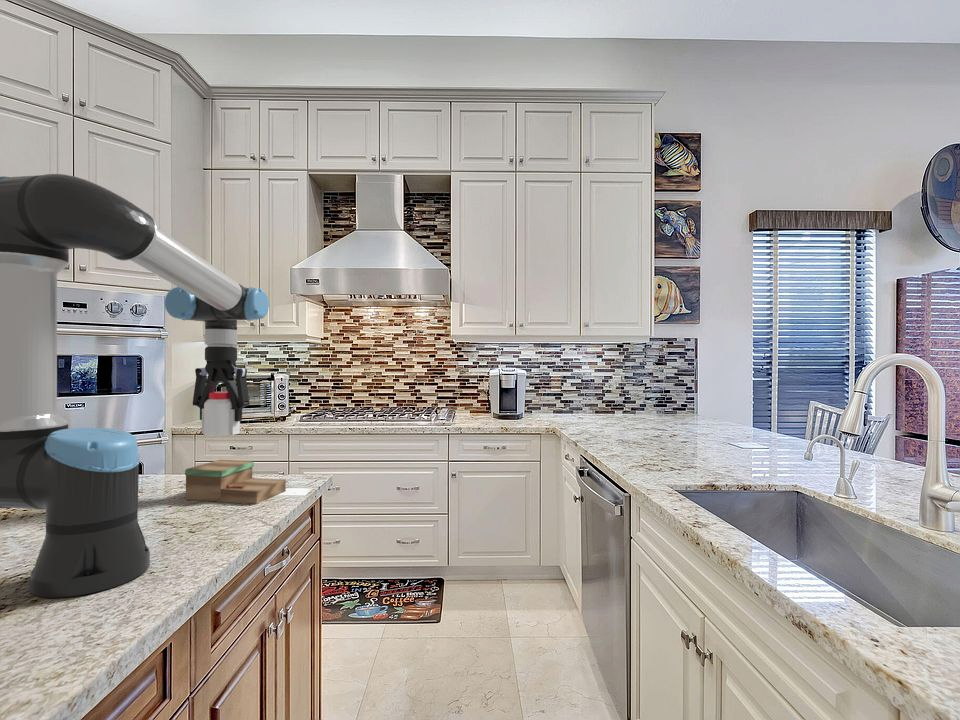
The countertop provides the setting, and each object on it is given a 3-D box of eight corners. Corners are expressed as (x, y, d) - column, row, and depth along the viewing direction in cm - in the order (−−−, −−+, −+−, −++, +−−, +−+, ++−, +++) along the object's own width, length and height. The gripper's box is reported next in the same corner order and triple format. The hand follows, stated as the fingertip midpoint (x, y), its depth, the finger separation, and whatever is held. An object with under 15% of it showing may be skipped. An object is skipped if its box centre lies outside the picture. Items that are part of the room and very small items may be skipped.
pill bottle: (243, 432, 132) (243, 391, 132) (225, 436, 124) (225, 393, 124) (216, 431, 132) (216, 391, 132) (197, 436, 125) (197, 393, 125)
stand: (255, 504, 119) (256, 473, 119) (184, 499, 123) (185, 469, 123) (285, 491, 131) (285, 462, 131) (220, 486, 135) (220, 459, 135)
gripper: (265, 346, 130) (265, 432, 130) (198, 346, 134) (197, 430, 134) (246, 345, 122) (246, 437, 122) (175, 345, 126) (175, 434, 126)
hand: (220, 433), depth 128 cm, fingers closed on pill bottle, 8 cm apart
